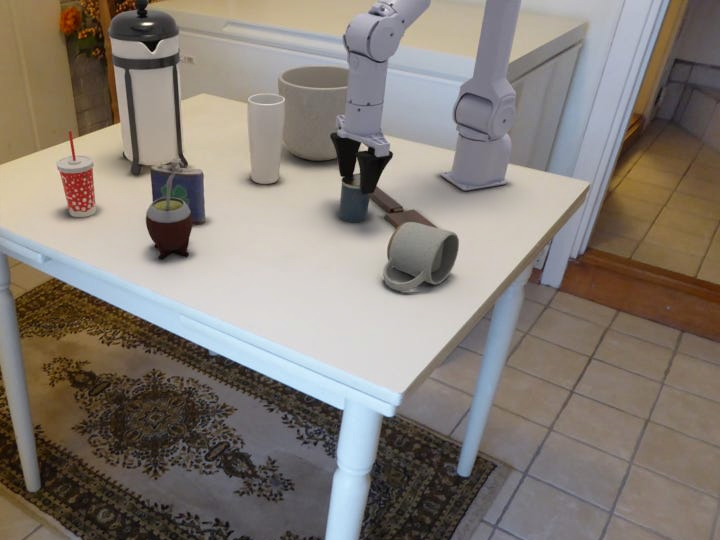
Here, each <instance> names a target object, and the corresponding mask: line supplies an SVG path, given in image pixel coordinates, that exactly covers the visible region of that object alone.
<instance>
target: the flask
mask: <svg viewBox="0 0 720 540" xmlns="http://www.w3.org/2000/svg"><path fill="white" fill-rule="evenodd" d="M179 162H180V163H181V162H182V161H181V159H180V158H176V159H171V160H170V163H171V164H169V165H167V164H163V163H161V164H160V165H151V167H150V171H149V172H150V182H151V183H150V184H151V197H152V202H154V201H155V200H157V199H160V198H166V197H167V188H166V184H167V181H168V179H169V177H170V176H171V175H172V174H173V173H175V176H174V178H173V179H172V187H171V191H170V197H174V198H178V199H181V200H183V201H184V202H185V203H186V204H187V205H188V207H189V209H190V211H191V216H192V220H193V225H202V224H204V223H205V221H206V208H205V202H206V201H205V187H204V185H205V183H204V181H205V180H204V179H205V174H204V171H203V170H202V169H201V168H189V167H186V168H180V164H179Z"/></svg>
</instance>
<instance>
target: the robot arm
mask: <svg viewBox="0 0 720 540" xmlns="http://www.w3.org/2000/svg"><path fill="white" fill-rule="evenodd" d="M431 2H432V0H378V1H377V2H374V4H373V5H372V6H371V8H370V9H369V10H368V12H360V13H358V14H357V15H355V16H354V17H352V19H351V20H350V21H349V23H348V24H347V27H346V28H345V33H343V34H342V45H343V47H344V49H345V51H346V54H347V58H346V63H347V65H348V68H349V74H348V86H347V98H346V111H345V115H340V116H337V117H336V128H338V129H339V130H338V131H337V132H335V133H331V134H330V138H331V140H332V142H333V144H334V147H335V150H336V154H337V158H336V159H337V165H338V171H339V176H340V177H341V178H343V177H345V176H347V175H353V174H355V173H354V172H355V170H356V169H355V168H356V163H358V168H359V173H360V190H361V193H362V194H370V193H374V191H375V189H376V186H377V187H378V184H379V181H380V178H381V176H382V173H383V172H384V171H385V168H386V167H387V165H388V164H389V163H390V161H391V160H392V159H393V156H394V153H393V152H392V151H391V150H390V148H391V143H390V142H389V141H388V139H387V138H386V135H385V134H384V131H383V130H382V127H381V126H382V118H383V111H384V103H385V95H386V94H385V93H386V83H387V76H388V68H389V66H388V65H389V60H390V58H391V57H393V56H394V55H395V54H396V52H397V50H398V49H399V46H400V43H401V40H402V38H403V37H404V36H405V34H406V31H407V30H408V29H409V28H410V27H411V26H412V25H413V24H414V23H415V22H416V21H417V20H418V19H419V18H420V17H421V16H422V15H423V14H424V13H425V12H426V11H427V10H428V9H429V8H430V5H431ZM521 5H522V0H485V5H484V12H483V17H482V23H481V29H480V34H479V39H478V45H477V50H476V57H475V63H474V68H473V74H472V77H471V78H469V79H468V80H466V81H465V82H463V83H462V84H461V85H460V86H459V91H458V96H457V98H456V100H455V102H454V105H453V107H452V115H451V116H452V121H453V123H454V124H456V128H455V131H457V132H458V135H457V140H456V145H455V150H454V156H453V161H452V167H451V171H445V172H444V171H443V172H440V176H441V177H442V178H444V179H445V180H447V181H448V182H450V183H451V184H453V185H454V186H456V187H457V188H459V189H460V190H462V191H473V190H478V189H484V188H491V187H496V186H501V185H506V184H507V183H508V181H507V180H506V174H507V170H508V166H509V162H510V158H511V154H512V140H511V137H510V135H509V134H508V133H509V131H510V130H511V129H512V128H513V125H514V123H515V122H516V121H515V120H516V115H517V114H516V113H517V110H516V98H517V92H516V90H515V89H514V88H513V86H512V85H511V83H510V82H509V80H508V79H507V73H508V69H509V63H510V59H511V53H512V49H513V44H514V39H515V34H516V30H517V24H518V20H519V16H520V10H521ZM361 145H364V146H365V147H367V150H361V151H359V150H360V148H361Z"/></svg>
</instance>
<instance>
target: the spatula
mask: <svg viewBox="0 0 720 540" xmlns="http://www.w3.org/2000/svg"><path fill="white" fill-rule="evenodd" d="M353 175H360V172H358V173H353ZM369 199H370V200H372V201H374V202H375V203H376V204H377V205H378V206H380V207H381V208H382V209H383V210H384V211H386V213H385V214H384V219H385V220H386V221H388V222H389V223H390V224H391V225H392V226H393V227H395V228H396V229H397V228H398V227H399V226H400V225H401V224H403V223H406V222H415V223H420V224H423V225H427V226H431V227H435V228H438V226H436V225H435V224H433V222H431V221H430V220H428V219H427V218H426V217H424V216H423V215H422V214H421V213H420V212H418V211H417V210H415V209H409V210H404V209H403V208H404V206H403V205H401V204H400V203H399V202H397V201H396V200H395V199H394V198H392V197H391V196H390V195H389V194H388V193H386V192H385V191H383V190H382V189H381V188H379V186H378V185H377V186H376V189H375V191H374V193H370V197H369Z"/></svg>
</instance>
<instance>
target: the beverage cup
mask: <svg viewBox="0 0 720 540" xmlns="http://www.w3.org/2000/svg"><path fill="white" fill-rule="evenodd" d="M68 137H69V143H70V151H71V155H67V156H63V157H61V158H60V159H57V161H56V162H55V163H56V168H57V171H59V175H60V180H61V183H62V187H63V191H64V197H65V199H66V204H67V208H68V211H69V215H70V216H72V217H73V218H74V217H75V218H87V217H90V216H93V215H94V214H95V213H96V212H97V206H96V197H95V196H96V195H95V181H94V170H93V167H94V159H93V158H92V157H91V156H88V155H85V154H84V155H83V154H76V151H75V146H74V140H73V133H72V130H70V131H68Z"/></svg>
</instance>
